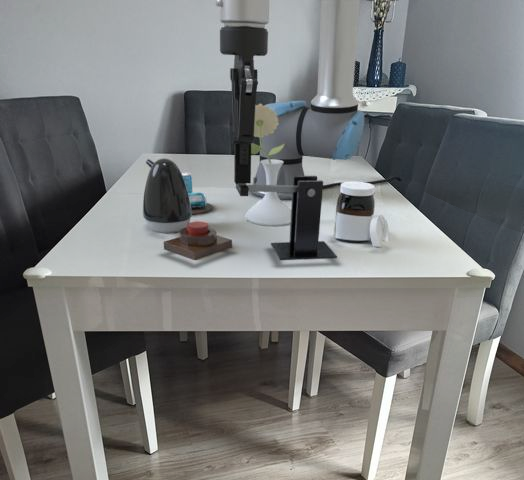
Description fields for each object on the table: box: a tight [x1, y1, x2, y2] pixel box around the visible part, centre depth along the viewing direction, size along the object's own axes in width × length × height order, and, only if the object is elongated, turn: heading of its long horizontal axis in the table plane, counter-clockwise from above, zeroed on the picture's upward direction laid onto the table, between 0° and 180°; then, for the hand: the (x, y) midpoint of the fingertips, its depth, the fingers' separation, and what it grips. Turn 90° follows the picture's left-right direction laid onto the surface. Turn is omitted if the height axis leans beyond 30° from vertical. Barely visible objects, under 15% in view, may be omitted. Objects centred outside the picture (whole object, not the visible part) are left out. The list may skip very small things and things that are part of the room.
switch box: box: [163, 226, 233, 261], centre depth 100 cm, size 10×8×4 cm
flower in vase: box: [245, 103, 291, 227], centre depth 114 cm, size 13×11×25 cm
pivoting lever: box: [235, 183, 298, 197], centre depth 94 cm, size 14×6×2 cm, turn 100°
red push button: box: [187, 221, 209, 235], centre depth 99 cm, size 4×4×2 cm
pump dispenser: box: [142, 157, 193, 234], centre depth 109 cm, size 10×10×15 cm
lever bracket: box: [270, 175, 338, 261], centre depth 98 cm, size 11×9×15 cm
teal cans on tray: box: [180, 171, 213, 216], centre depth 127 cm, size 12×12×8 cm
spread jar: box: [333, 181, 390, 248], centre depth 107 cm, size 12×11×12 cm
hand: (242, 182), depth 93 cm, fingers closed
